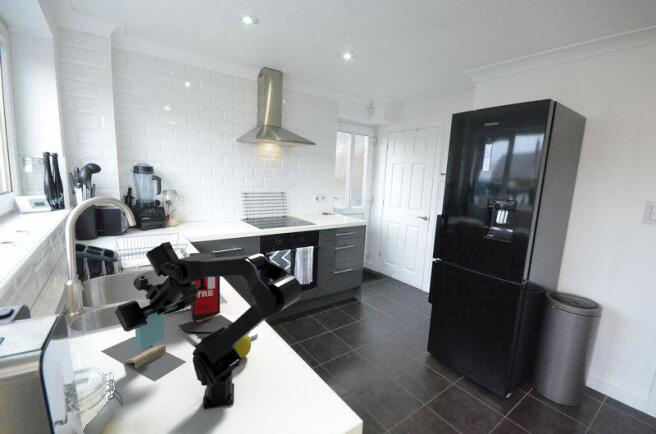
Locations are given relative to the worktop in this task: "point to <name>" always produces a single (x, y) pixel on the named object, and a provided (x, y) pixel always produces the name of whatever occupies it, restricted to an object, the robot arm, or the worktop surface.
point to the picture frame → (208, 327)
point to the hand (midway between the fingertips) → (146, 319)
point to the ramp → (148, 356)
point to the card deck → (150, 331)
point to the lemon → (244, 346)
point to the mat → (149, 370)
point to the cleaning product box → (206, 295)
